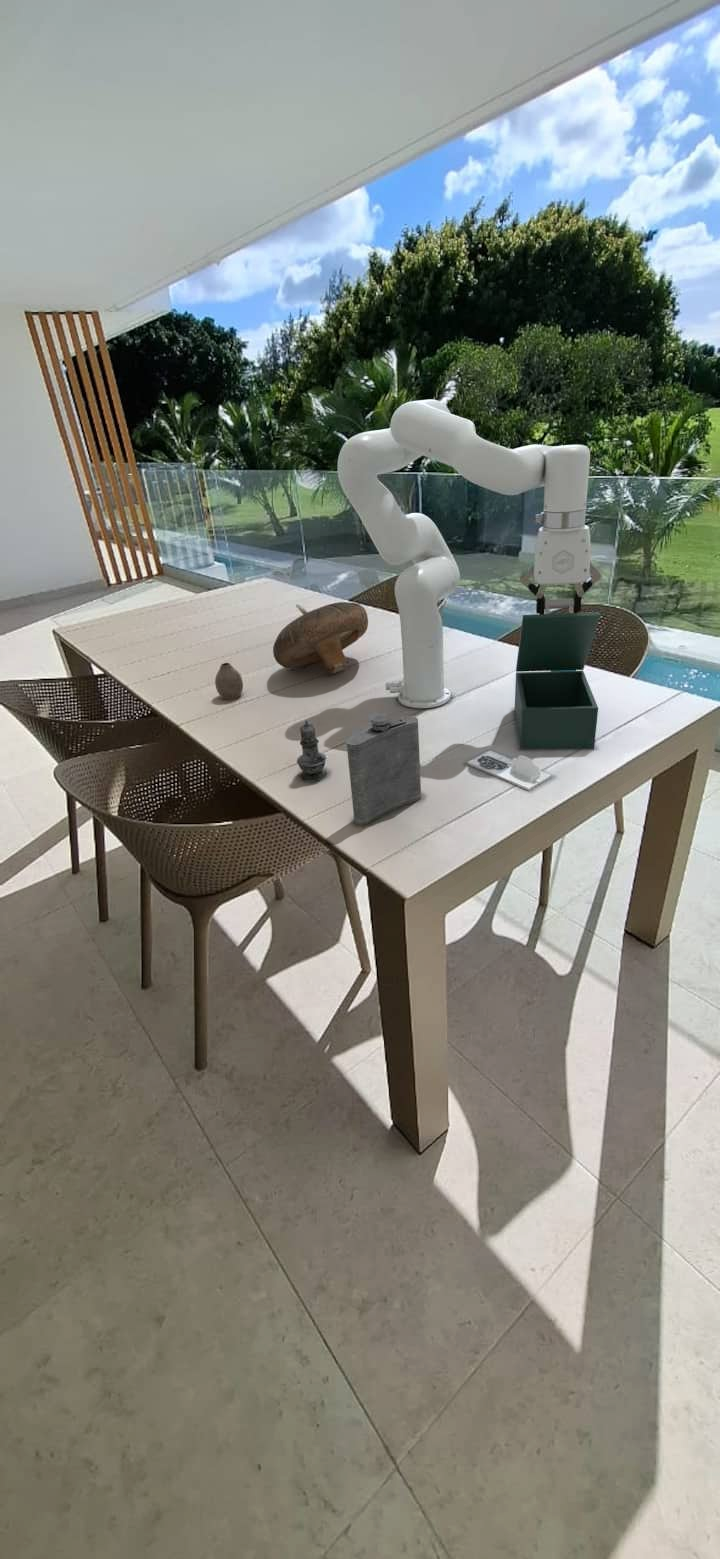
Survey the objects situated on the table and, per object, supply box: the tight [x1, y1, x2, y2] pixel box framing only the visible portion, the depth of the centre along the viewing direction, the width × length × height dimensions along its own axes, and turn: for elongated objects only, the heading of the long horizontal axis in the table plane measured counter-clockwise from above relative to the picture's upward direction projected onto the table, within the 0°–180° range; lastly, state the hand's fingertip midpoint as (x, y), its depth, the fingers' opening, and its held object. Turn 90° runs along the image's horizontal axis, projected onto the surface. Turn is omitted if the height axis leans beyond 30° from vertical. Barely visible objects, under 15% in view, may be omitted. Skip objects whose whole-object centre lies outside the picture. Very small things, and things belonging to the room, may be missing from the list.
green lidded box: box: [514, 670, 599, 750], centre depth 140 cm, size 20×14×9 cm
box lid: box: [515, 598, 602, 673], centre depth 138 cm, size 21×14×5 cm
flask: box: [345, 712, 422, 826], centre depth 116 cm, size 4×14×18 cm, turn 125°
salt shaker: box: [296, 719, 328, 783], centre depth 130 cm, size 6×6×12 cm
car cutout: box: [466, 750, 553, 792], centre depth 127 cm, size 15×7×4 cm, turn 40°
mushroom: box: [272, 601, 369, 675], centre depth 180 cm, size 28×23×25 cm
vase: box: [214, 662, 244, 700], centre depth 171 cm, size 7×7×9 cm
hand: (557, 615), depth 133 cm, fingers closed on box lid, 5 cm apart
